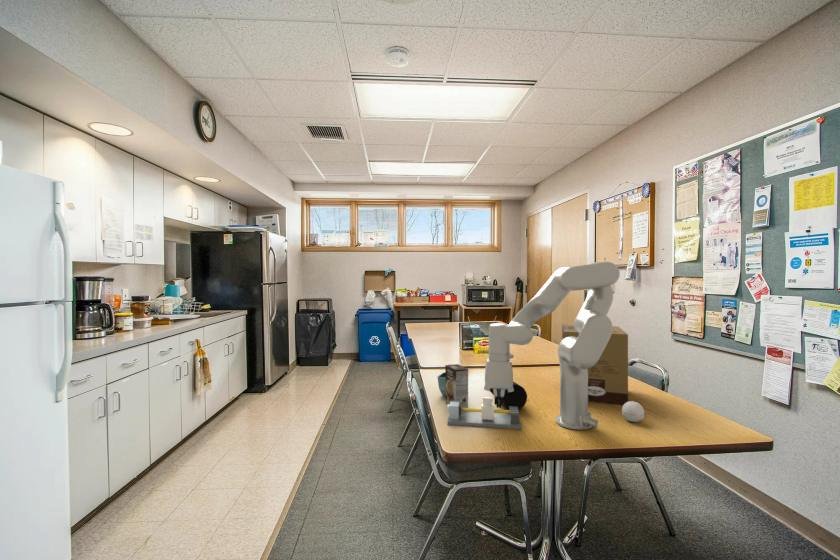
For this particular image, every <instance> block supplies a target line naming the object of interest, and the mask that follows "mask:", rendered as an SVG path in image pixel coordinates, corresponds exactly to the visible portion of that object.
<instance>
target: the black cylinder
mask: <svg viewBox="0 0 840 560" xmlns="http://www.w3.org/2000/svg"><path fill="white" fill-rule="evenodd" d="M513 389H514V391H513V392H508V393H506V394H505V395H504V397H503V406H504V405H505V407H507V408H508V409H509V406H510V407H518V410H521V409H523V407H524V406H526V404H527V401H528V393H527V392H526V389H525V388H524V387H523V386H522V385H520V384H519V383H518V382H517V383H516V382H515V381H513ZM500 392H501V389H497V393H498V396H499V394H500Z"/></svg>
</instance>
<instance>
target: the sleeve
mask: <svg viewBox="0 0 840 560" xmlns="http://www.w3.org/2000/svg"><path fill="white" fill-rule="evenodd" d="M493 401H494V400H493V397H485V396H483V397H482V401H481V409H482V412H481V413H482V419H484V420H494V414H495V413H494V409H495V401H494V402H493Z"/></svg>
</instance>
